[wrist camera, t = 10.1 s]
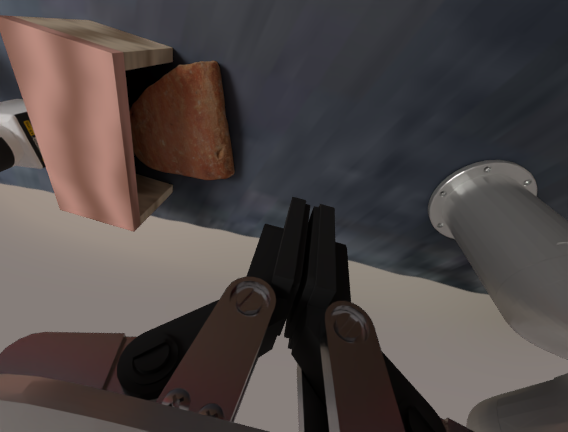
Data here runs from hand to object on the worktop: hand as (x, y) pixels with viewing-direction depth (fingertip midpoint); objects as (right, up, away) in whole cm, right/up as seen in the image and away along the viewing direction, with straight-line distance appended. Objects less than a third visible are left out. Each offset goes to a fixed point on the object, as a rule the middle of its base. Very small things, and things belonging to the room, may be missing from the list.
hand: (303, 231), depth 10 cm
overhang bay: (-21, +14, +26) cm, 36 cm away
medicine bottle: (-36, +14, +28) cm, 48 cm away
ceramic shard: (-15, +14, +25) cm, 33 cm away
